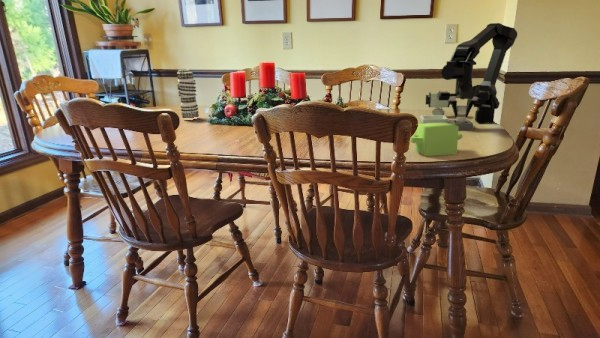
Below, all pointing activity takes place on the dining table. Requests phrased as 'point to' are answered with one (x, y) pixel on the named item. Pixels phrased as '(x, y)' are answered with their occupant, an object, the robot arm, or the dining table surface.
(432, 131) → the gearbox
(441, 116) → the parts tray
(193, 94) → the decorative candle
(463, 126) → the grey square frame
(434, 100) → the pneumatic valve
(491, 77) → the robot arm
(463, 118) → the white light bulb
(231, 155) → the dining table surface
